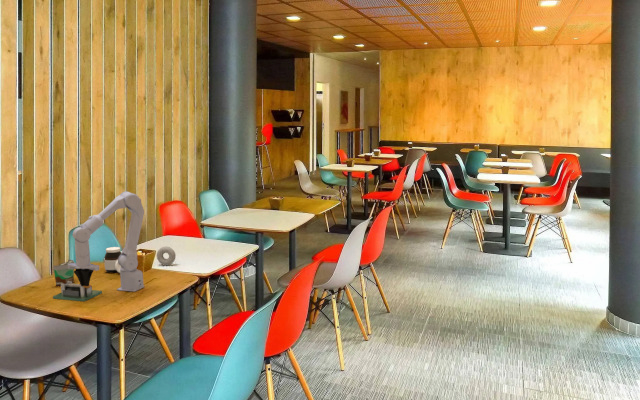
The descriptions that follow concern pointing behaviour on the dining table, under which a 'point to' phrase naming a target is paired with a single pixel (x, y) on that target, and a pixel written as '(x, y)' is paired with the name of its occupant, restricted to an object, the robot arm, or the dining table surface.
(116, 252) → the spread jar
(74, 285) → the grey and orange bar
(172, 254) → the donut
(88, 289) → the green base metal fixture
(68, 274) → the food container
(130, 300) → the dining table surface
